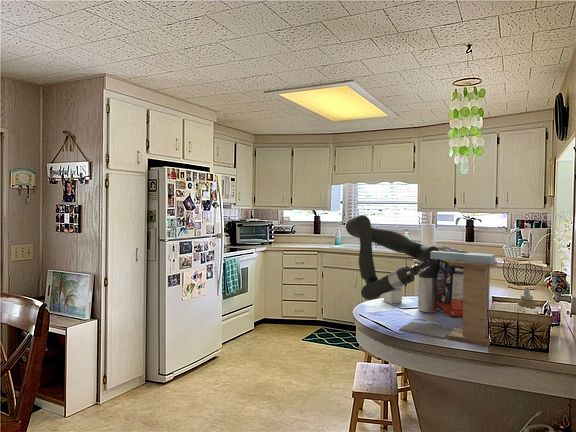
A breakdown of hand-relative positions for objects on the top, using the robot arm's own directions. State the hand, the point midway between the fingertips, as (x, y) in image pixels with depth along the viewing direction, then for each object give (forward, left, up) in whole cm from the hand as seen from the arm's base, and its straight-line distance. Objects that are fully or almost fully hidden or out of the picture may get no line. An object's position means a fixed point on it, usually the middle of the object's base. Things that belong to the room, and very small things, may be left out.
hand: (432, 261), depth 182 cm
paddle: (0, +11, +1) cm, 12 cm away
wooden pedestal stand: (0, +16, -30) cm, 34 cm away
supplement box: (-43, -36, -30) cm, 63 cm away
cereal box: (-41, -4, -30) cm, 51 cm away
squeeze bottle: (-30, +31, -30) cm, 53 cm away
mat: (0, -2, -30) cm, 30 cm away
